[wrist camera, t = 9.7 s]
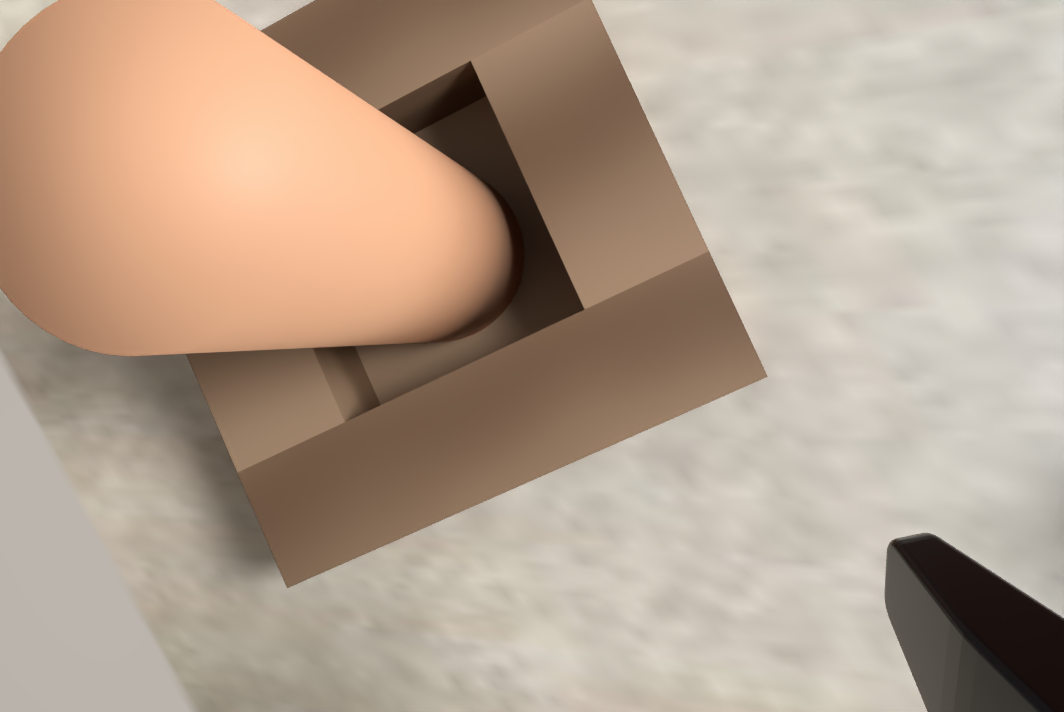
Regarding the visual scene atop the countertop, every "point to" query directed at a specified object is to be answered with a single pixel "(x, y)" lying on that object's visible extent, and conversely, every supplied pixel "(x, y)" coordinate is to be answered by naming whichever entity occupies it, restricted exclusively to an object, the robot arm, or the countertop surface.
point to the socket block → (531, 317)
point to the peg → (227, 195)
